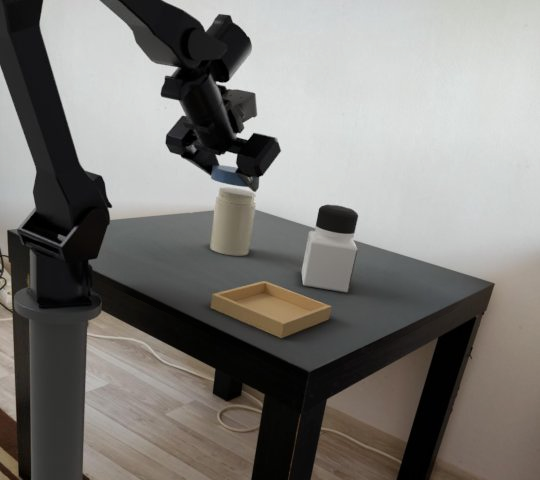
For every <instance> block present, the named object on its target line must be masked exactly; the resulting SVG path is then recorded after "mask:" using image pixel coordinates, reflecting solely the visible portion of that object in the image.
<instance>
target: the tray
mask: <svg viewBox="0 0 540 480" xmlns="http://www.w3.org/2000/svg"><path fill="white" fill-rule="evenodd" d="M210 309H212V310H214V311H217V312H219V313H221V314H223V315H226V316H228V317H231V318H233V319H235V320H237V321H240V322H242V323H244V324H247V325H249V326H252V327H254V328H255V329H259V330H261V331H264V332H266V333H268V334H270V335H272V336H275V337H278V338H279V339H283V338H286V337H288V336H291V335H294V334H296V333H299V332H300V331H303V330H305V329H308V328H310V327H313V326H316V325H318V324H322V323H323V322H326V321H328V320H330V315H331V311H332V305H329V304H326V303H325V302H321V301H318V300H316V299H313V298H311V297H307V296H305V295H303V294H300V293H297V292H295V291H293V290H289V289H287V288H284V287H282V286H280V285H277V284H274V283H271V282H269V281H266V280H263V281H259V282H255V283H251V284H247V285H243V286H238V287H234V288H232V289H227V290H223V291H218V292H215V293H212V295H211V303H210Z"/></svg>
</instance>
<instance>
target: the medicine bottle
mask: <svg viewBox="0 0 540 480" xmlns="http://www.w3.org/2000/svg"><path fill="white" fill-rule="evenodd" d="M317 211H318V212H317V217H316V221H315V227H314V230H309V231H308V236H307V239H306V246H305V250H304V257H303V261H302V267H301V281H302V285H303V286H304V287H307V288H308V287H309V288H314V289H322V290H328V291H334V292H339V293H348V292H349V291H350V290H349V289H350V285H351V282H352V281H351V280H352V276H353V272H354V268H355V264H356V259H357V255H358V251H359V250H358V249H359V248H358V247H357V245H356V242H355V241H354V239H353V238H355V237H354V236H355V233H356V228H357V225H358V220H359V214H358V212H356V210H354V209H352V208H350V207H347V206H343V205H339V204H324V205H321V206H320V207H319V208H318V210H317Z"/></svg>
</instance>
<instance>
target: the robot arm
mask: <svg viewBox="0 0 540 480" xmlns="http://www.w3.org/2000/svg"><path fill="white" fill-rule="evenodd" d="M99 2H101V3H102V4H103V5H104V6H105V7H107V8H108V9H109V10H110V11H111V12H112V13H113V14H114V15H116V16H117V17H118V18H120V20H121V21H123V22H124V23H125V24H126V25H127V26H128V28H129V29H130V30H131V31H132V35H133V37H134V41H135V43H136V45H137V46H138V47H139V48H140V50H141V51H142V52H143V53H144V54H145V56H146V57H147V58H148V59H149V60H150V61H151V62H153V63H154V64H156V65H162V66H168V67H173V68H176V69H175V71H173V73H172V74H171V75H165V76H164V80H163V84H162V86H161V89H160V97H161V98H165V99H169V100H174V101H178V103H179V104H180V106H181V108H182V111H183V112H184V114H185V115H181V116H180V118H178V120H177V121H176V122H175V124H173V126H172V127H171V128H170V129H169V131H168V132H167V133H166V135H165V141H164V143H165V146H166V148H167V149H168V152H170V153H171V154H174V155H178V156H180V157H181V158H182V159H183V160H186V161H187V162H189V163H190V164H192V165H194V166H195V167H197V168H198V169H200V170H201V171H203V172H204V173H206V175H208V176H210V177H211V173H212V166H213V165H220V161H219V160H218V157H217V156H220V157H221V156H222V155H225V154H226V153H229V154H230V153H231V154H233V155H236V160H235V164H236V168H238V169H237V170H236V171H235V173H236V174H237V175H238V176H239V177H240V178H241V180H242V181H243V182H244V183H245V184H246V185H247V186H248V187H247V188H248V189H249V190H250V191H251V192H253V193H256V192H257V191H258V189H259V187H260V177H263V176H264V175H265V174H266V172H267V171H268V170H269V169H270V167H271V166H272V164H273V163H274V162H275V160H276V158H278V156H279V155H280V153H281V152H282V148H281V146H280V143H279V140H278V137H277V136H276V137H275V136H271V135H267V134H263V133H259V132H253V133H252V134H251V135H250V137H249V138H248V139H247V138H241V137H238V136H237V135H238V134H241V133H242V132H243V131H244V130H245V124H244V123H246V122H247V121H249V120H250V119H252V118H256V117H258V106H257V96H256V93H255V92H252V91H248V90H242V89H238V88H237V89H231V88H227V86H226V85H223V84H224V83H225V84H226V83H228V82H230V80H231V79H232V78H233V77H234V75H235V74H236V73H237V71H238V70H239V69H240V67H241V66H242V65H243V64H244V63H245V62H246V60H247V59H248V57H249V56H251V53H252V51H253V44H252V40H251V38H250V36H248V35H247V33H246V32H245V30H244V29H243V28H241V26H240V25H238V24H236V22H233V19H232V16H231V14H225V13H224V14H223V13H218V14H217V16H215V18H214V20H213V21H212V23H211V25H210V26H209V27H208V28H207V29H205V27H204V26H203V24H202V23H201V21H200V20H198V19H197V18H196V17H195V16H193V15H191V14H190V13H189V12H187V11H185V10H184V9H182V8H179V7H177V6H175V5H173V4H171V3H168V2H167V1H164V0H99ZM43 4H44V0H0V69H1V72H2V76H3V78H4V81H5V84H6V87H7V90H8V92H9V95H10V98H11V101H12V104H13V107H14V109H15V112H16V116H17V119H18V121H19V124H20V126H21V130H22V132H23V135H24V139H25V141H26V145H27V147H28V150H29V153H30V156H31V158H32V161H33V164H34V168H35V177H34V182H33V188H32V196H33V201H34V206H35V207H34V208H33V209H32V210H31V211H30V213H29V214H28V215H27V216H26V218H25V219H24V220H23V221H22V223H21V224H20V225H19V226H18V227H17V230H16V231H17V235H18V237H19V240H20V243H21V245H23V246H25V247H26V246H27V247H29V284H30V285H29V286H27V287H28V288H27V287H26V288H27V293H28V294H29V296H30V297H31V298H32V300H33V301H34V303H35V304H36V305H37V307H38V308H40V309H47V308H64V307H80V306H91V305H92V301H91V300H90V299H89V298H88V297H90V296H91V295H92V291H93V266H92V264H90V263H89V261H91V260H96V259H98V257H99V254H100V252H101V248H102V246H103V242H104V240H105V235H106V232H107V229H108V227H109V226H110V224H111V215H110V214H111V213H110V210H109V209H112V208H113V205H112V203H111V202H110V200H109V198H108V195H107V187H106V182H105V179H104V177H103V176H102V175H100V174H97V173H95V172H91V171H88V170H85V169H84V168H83V166H82V164H81V162H80V160H79V156H78V153H77V149H76V145H75V142H74V139H73V135H72V132H71V129H70V126H69V122H68V119H67V115H66V112H65V108H64V105H63V102H62V99H61V95H60V92H59V88H58V85H57V82H56V77H55V74H54V70H53V67H52V65H51V61H50V58H49V54H48V50H47V47H46V43H45V39H44V37H43V34H42V30H41V29H42V28H41V18H42V11H43ZM217 82H218V83H220V84H218V83H217ZM59 235H60V236H63V237H65V238H64V239H63V238H60V237H59Z"/></svg>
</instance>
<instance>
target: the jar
mask: <svg viewBox="0 0 540 480" xmlns="http://www.w3.org/2000/svg"><path fill="white" fill-rule="evenodd" d="M255 198H256V193H255V192H253V191H251V190H246V189H242V188H237V187H229V186H228V187H227V186H225V187H219V190H218V196H217V197H215V203H214V210H213V219H212V227H211V235H210V244H209V249H211V250H212V251H213V252H216V253H218V254H222V255H226V256H233V257H242V256H243V257H244V256H247V255H249V254H250V247H251V240H252V233H253V227H254V221H255V214H256V205H257V204H256V203H255Z"/></svg>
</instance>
